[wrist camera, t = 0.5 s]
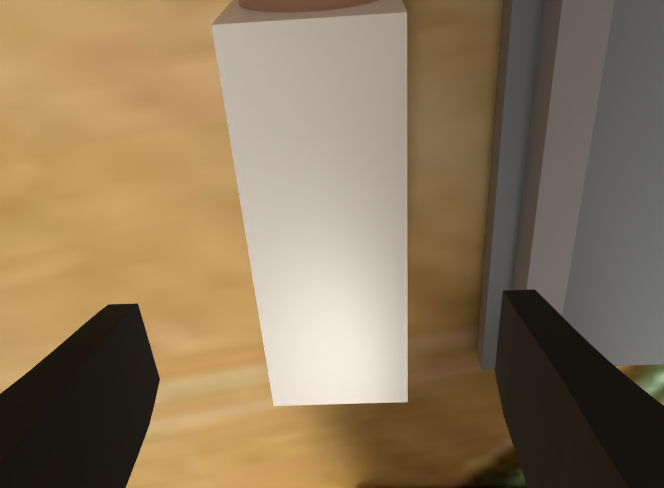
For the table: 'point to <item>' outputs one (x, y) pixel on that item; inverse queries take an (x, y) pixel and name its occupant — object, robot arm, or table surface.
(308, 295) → the cream rectangular bar
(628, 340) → the cradle
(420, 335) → the table surface
